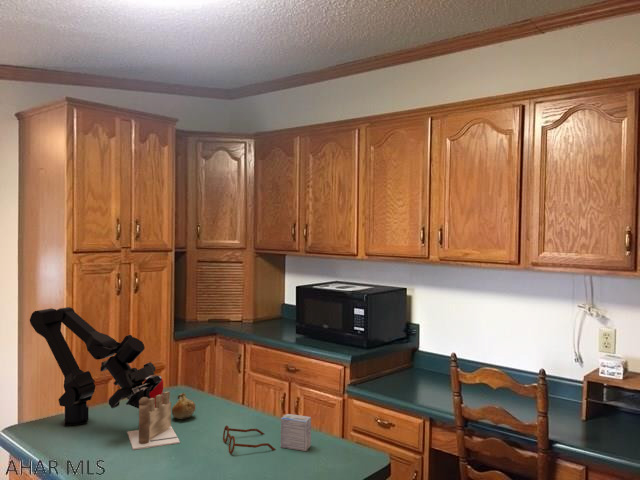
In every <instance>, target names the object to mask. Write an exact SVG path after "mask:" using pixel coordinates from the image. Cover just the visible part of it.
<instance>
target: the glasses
mask: <svg viewBox="0 0 640 480" xmlns="http://www.w3.org/2000/svg"><path fill="white" fill-rule="evenodd" d="M230 432H239V433H240V432H241V433H249V432H258V433H259V434H260V435H262V436H263V435H265V433H264V432H263V431H262V430H261V429H259V428H249V429H241V428H230V427H229V426H228V425H225V426H224V428H223V432H222V440H223V443H227V442H228V453H229V455H233V453H234V450H235V447H241V448H253V449H254V448H258V447H268V448H269V449H271V450H272V451H276V448H275V447H274V446H272V444H270V443H266V442H265V443H259V444H247V443H246V444H245V443H236V439H235V436H234V435H231V433H230ZM225 436H226V437H225ZM228 439H229V441H228ZM231 445H232V448H231Z"/></svg>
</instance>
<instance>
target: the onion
mask: <svg viewBox="0 0 640 480" xmlns="http://www.w3.org/2000/svg"><path fill="white" fill-rule="evenodd" d="M177 399H178V400H177V402H176V403H175V404H174V405H173V406H172V407H171V416H173V417H174V418H176V419H177V420H178V419H179V420H186V419H189V418H190V417H191V416H192V415H193V414H194V412H195V411H196V404H195V402H194V401H193V400H191V399H189V398H187V397H186V392H183V393H179V394H178V395H177Z"/></svg>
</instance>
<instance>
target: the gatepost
mask: <svg viewBox="0 0 640 480" xmlns="http://www.w3.org/2000/svg"><path fill="white" fill-rule="evenodd" d="M149 404H150V400H149V398H147V397H142V398H141V399H140V400H139V410H138V430H139V443H140V444H146V443H148V442H149Z"/></svg>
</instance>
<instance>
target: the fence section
mask: <svg viewBox="0 0 640 480" xmlns="http://www.w3.org/2000/svg"><path fill="white" fill-rule="evenodd" d="M170 392H171V391H163V395H157V396H156V408H155V398H150V399H149V400H150V404H149V438H151V437H152V436H154V435H156V434H158V433H160V432H161V431H163V430H165V429H167V428H168V427H170V426H171V427H172V419H171V418H172V402H171V401H170V399H171V397H170V395H171V394H170ZM162 398H163V404H162Z"/></svg>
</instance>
